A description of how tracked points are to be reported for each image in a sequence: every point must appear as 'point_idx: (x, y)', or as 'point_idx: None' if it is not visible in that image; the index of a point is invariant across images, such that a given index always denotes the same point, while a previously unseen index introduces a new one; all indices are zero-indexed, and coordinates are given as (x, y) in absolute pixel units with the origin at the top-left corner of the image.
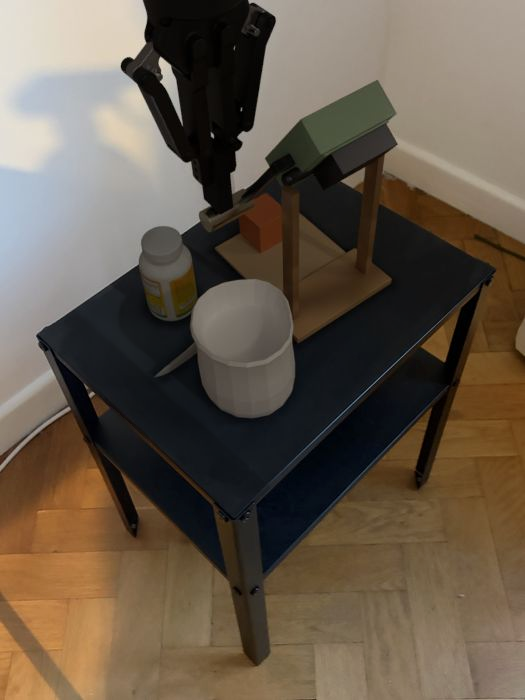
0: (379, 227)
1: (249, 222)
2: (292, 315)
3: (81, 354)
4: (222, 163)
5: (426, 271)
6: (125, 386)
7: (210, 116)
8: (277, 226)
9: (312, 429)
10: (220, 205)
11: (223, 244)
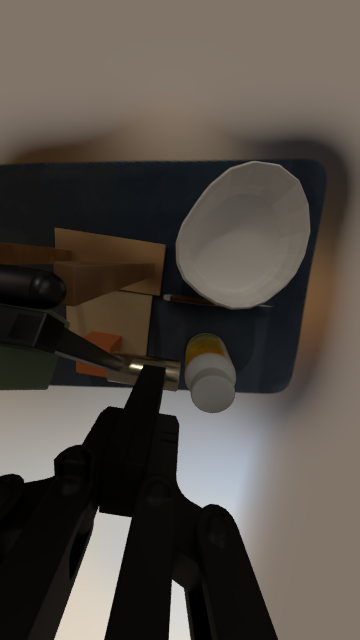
0: None
1: None
2: (152, 263)
3: (284, 364)
4: (130, 437)
5: (23, 213)
6: (287, 319)
7: (63, 605)
8: (94, 340)
9: (225, 167)
10: (162, 376)
11: None
